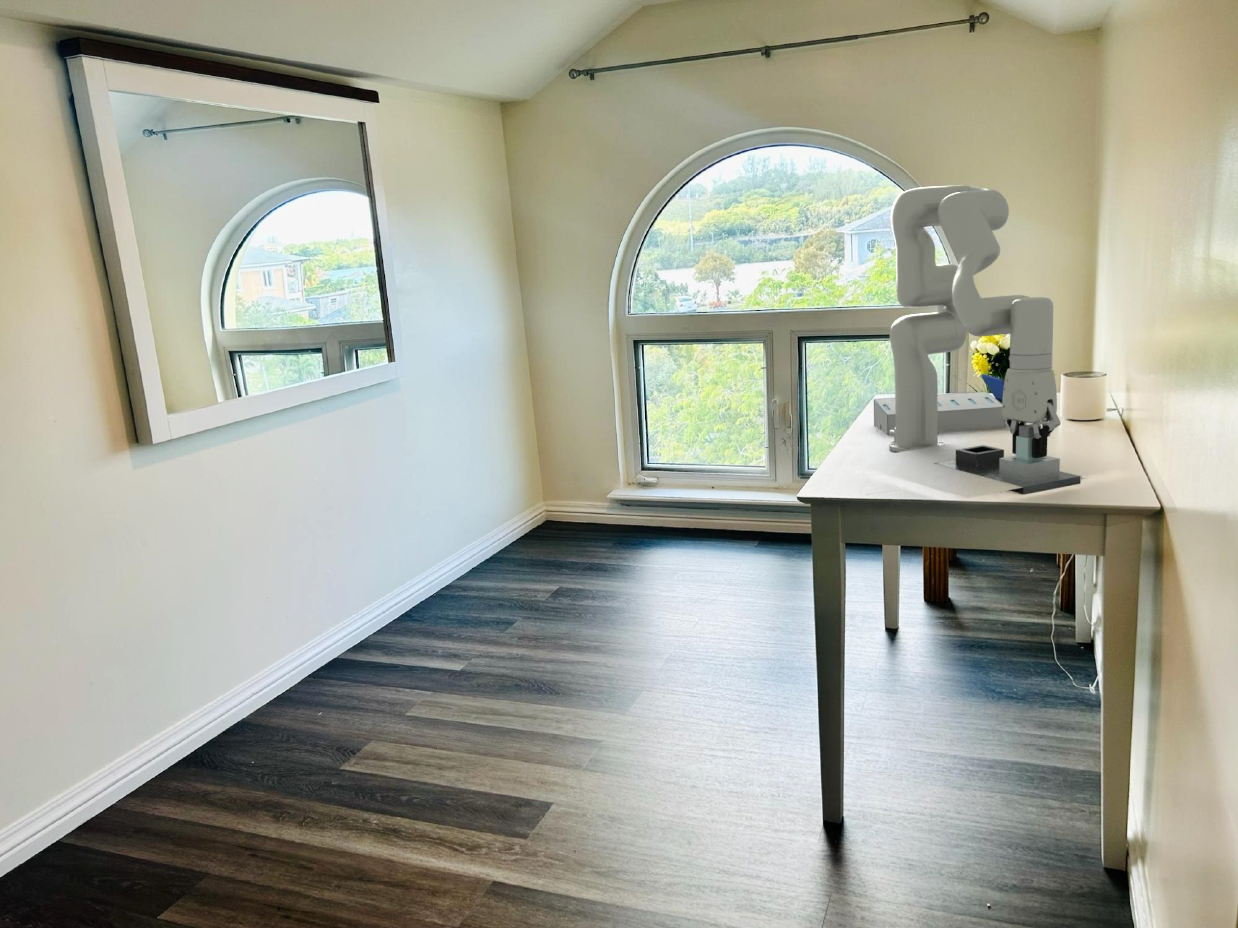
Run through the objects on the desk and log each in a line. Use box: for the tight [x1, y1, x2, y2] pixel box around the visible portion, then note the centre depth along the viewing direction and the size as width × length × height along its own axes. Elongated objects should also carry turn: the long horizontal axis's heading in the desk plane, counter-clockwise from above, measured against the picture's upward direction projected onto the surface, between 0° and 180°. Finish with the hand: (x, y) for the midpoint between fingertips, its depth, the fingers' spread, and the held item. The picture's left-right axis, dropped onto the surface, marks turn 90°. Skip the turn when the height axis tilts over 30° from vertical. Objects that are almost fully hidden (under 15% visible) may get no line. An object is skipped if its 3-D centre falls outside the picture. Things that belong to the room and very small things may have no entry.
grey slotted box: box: [873, 390, 1007, 436], centre depth 252 cm, size 30×14×8 cm, turn 89°
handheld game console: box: [981, 373, 1005, 403], centre depth 273 cm, size 16×13×9 cm
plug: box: [1015, 423, 1043, 462], centre depth 188 cm, size 3×4×10 cm
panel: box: [933, 444, 1082, 496], centre depth 195 cm, size 26×14×5 cm, turn 21°
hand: (1029, 454), depth 188 cm, fingers open, 4 cm apart
